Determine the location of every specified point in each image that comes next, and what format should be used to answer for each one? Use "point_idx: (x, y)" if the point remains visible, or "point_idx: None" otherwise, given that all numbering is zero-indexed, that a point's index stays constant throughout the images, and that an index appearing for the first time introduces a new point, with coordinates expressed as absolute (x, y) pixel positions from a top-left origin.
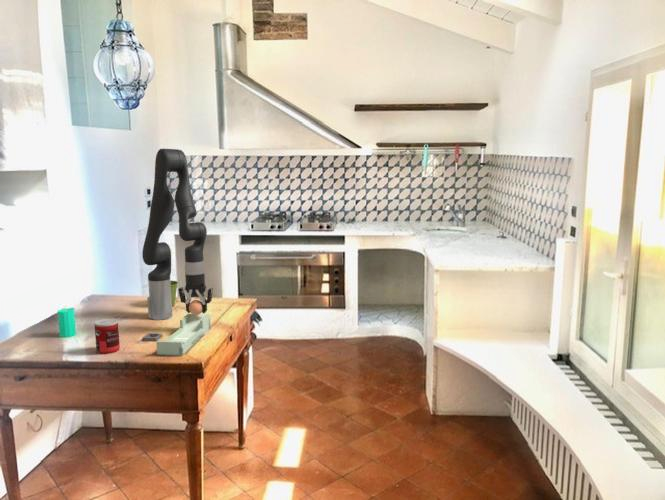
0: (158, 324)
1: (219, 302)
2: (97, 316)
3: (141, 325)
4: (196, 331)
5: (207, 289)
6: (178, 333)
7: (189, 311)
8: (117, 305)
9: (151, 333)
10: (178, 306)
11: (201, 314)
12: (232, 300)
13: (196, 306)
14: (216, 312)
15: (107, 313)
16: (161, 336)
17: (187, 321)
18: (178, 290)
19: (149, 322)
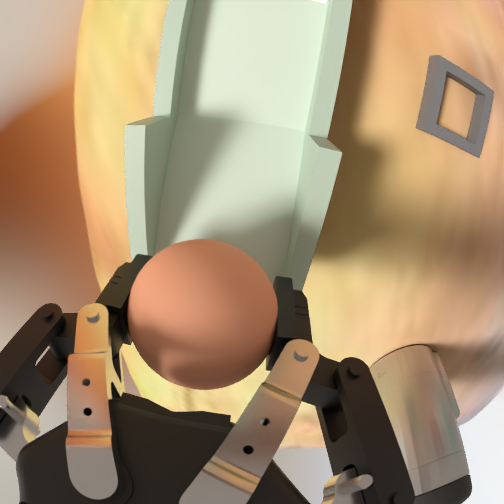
0: (423, 305)
1: None
2: None
3: (472, 295)
4: (206, 118)
5: (6, 437)
6: (321, 55)
7: (274, 289)
8: (461, 403)
9: (469, 148)
10: None
11: None
12: None
13: (166, 277)
14: (215, 393)
15: (495, 367)
16: (420, 117)
17: (289, 229)
18: (412, 486)
19: (444, 323)
